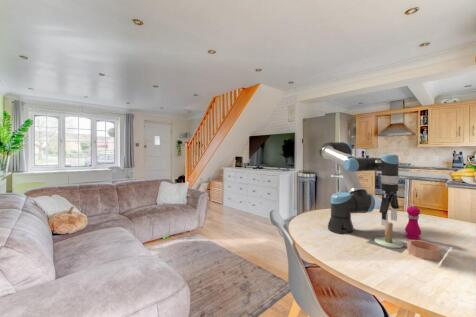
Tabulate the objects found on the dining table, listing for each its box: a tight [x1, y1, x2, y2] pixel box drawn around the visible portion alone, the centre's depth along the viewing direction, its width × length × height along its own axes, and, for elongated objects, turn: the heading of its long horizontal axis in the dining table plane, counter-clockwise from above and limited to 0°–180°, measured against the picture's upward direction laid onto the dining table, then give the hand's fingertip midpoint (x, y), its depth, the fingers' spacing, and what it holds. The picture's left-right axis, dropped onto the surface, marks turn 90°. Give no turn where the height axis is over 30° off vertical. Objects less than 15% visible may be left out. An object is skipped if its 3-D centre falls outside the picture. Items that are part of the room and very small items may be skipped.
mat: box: [366, 234, 407, 254], centre depth 120 cm, size 16×16×1 cm
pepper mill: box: [404, 203, 422, 240], centre depth 126 cm, size 7×7×20 cm
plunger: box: [374, 221, 404, 249], centre depth 120 cm, size 13×13×11 cm
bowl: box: [406, 239, 442, 261], centre depth 107 cm, size 12×12×5 cm
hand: (389, 222), depth 119 cm, fingers open, 13 cm apart
